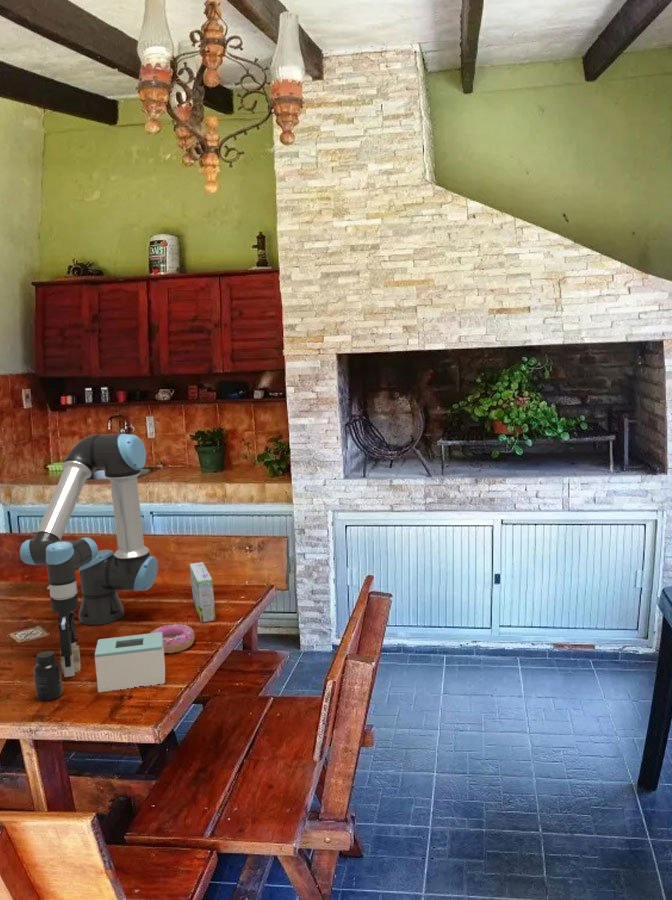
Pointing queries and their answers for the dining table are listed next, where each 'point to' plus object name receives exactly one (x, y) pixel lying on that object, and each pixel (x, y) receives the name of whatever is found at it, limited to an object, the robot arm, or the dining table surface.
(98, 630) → the dining table surface
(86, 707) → the dining table surface
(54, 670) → the supplement bottle
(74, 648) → the beige rectangular block
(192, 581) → the snack box
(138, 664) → the box
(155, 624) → the dining table surface
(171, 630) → the donut
